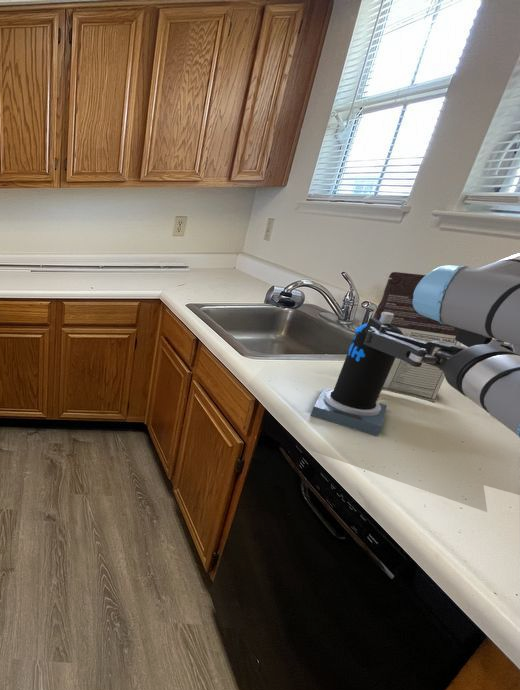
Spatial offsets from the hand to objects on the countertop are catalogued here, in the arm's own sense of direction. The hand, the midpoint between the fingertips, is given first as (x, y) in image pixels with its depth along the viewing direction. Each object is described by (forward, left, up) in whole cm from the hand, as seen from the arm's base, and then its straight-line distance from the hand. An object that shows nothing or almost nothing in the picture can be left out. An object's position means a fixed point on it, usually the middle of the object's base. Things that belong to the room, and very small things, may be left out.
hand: (413, 328), depth 75 cm
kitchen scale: (+4, -8, -24) cm, 25 cm away
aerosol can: (+4, -9, -20) cm, 22 cm away
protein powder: (-2, -32, -24) cm, 40 cm away
